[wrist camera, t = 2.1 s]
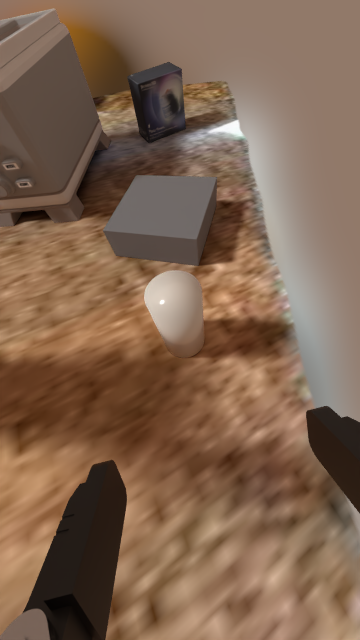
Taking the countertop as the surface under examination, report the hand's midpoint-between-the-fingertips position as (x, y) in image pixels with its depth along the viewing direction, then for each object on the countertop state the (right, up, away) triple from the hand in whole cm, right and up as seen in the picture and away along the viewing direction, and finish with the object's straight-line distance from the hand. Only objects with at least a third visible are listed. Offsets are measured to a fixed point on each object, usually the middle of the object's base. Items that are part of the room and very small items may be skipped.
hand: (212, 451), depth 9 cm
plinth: (-3, +21, +28) cm, 35 cm away
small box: (-6, +53, +46) cm, 71 cm away
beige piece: (-1, +3, +19) cm, 19 cm away
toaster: (-30, +37, +41) cm, 62 cm away
